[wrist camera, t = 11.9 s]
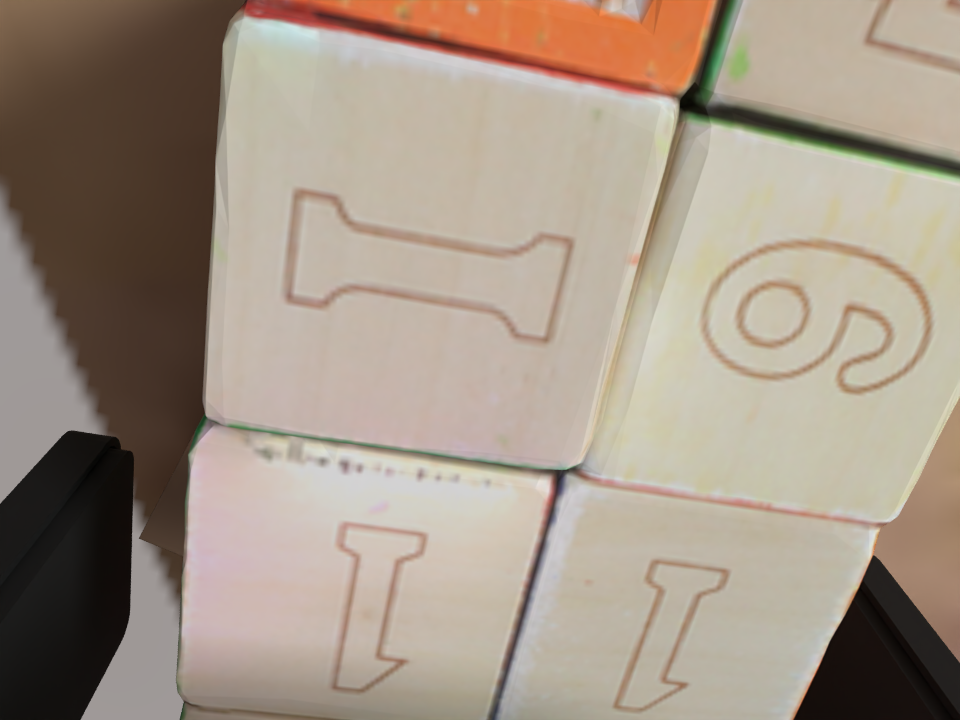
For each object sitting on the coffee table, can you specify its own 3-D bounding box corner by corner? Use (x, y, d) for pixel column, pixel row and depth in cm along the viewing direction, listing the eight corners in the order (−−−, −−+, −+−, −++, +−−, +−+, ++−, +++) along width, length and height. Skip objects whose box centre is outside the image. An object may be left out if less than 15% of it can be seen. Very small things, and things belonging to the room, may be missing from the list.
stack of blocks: (472, 690, 24) (511, 1291, 12) (269, 665, 23) (112, 1289, 12) (699, -78, 16) (1403, -340, 4) (395, -162, 15) (281, -768, 3)
